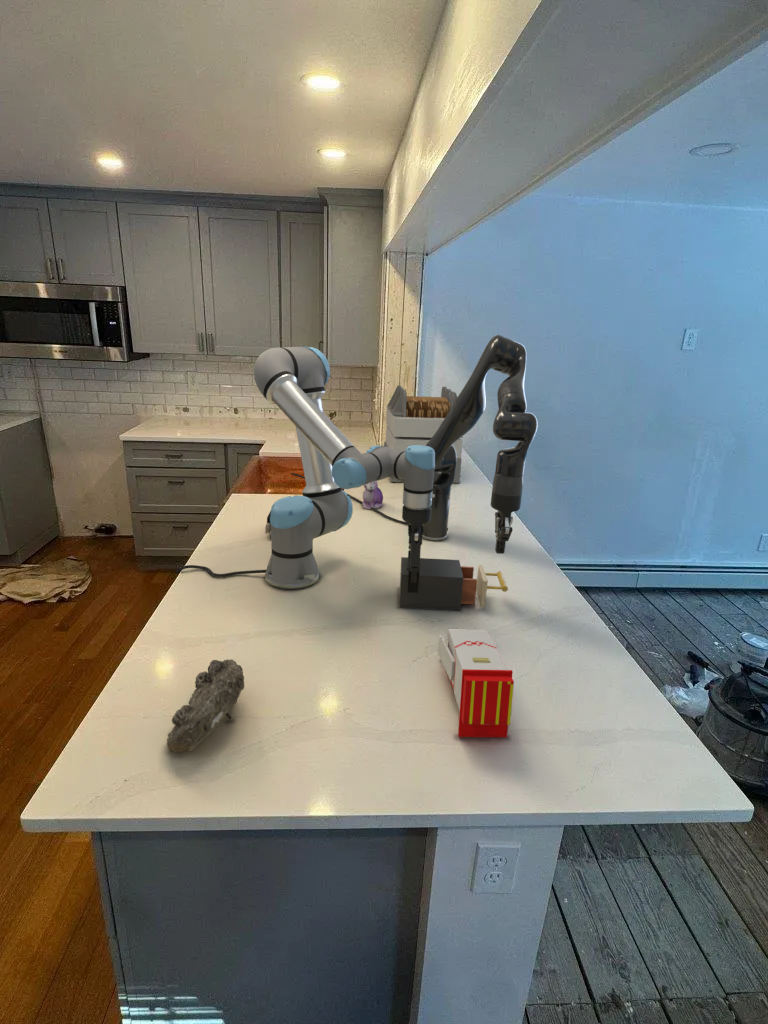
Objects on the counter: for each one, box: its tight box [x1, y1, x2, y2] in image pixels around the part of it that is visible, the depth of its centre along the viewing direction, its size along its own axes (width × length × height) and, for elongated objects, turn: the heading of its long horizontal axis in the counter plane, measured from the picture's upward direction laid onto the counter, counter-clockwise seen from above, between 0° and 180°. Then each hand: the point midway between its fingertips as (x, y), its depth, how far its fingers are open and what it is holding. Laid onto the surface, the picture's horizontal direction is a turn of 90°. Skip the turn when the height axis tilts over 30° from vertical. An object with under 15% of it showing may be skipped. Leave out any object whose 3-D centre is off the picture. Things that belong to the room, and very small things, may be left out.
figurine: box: [361, 481, 384, 510], centre depth 224 cm, size 9×10×15 cm
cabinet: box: [398, 556, 463, 612], centre depth 154 cm, size 16×11×10 cm
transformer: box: [383, 384, 464, 484], centre depth 268 cm, size 34×33×41 cm
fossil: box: [166, 658, 245, 754], centre depth 106 cm, size 22×10×15 cm
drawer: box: [461, 564, 509, 608], centre depth 154 cm, size 20×10×8 cm, turn 88°
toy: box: [437, 628, 515, 738], centre depth 117 cm, size 12×13×30 cm
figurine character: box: [265, 510, 271, 538], centre depth 195 cm, size 7×8×15 cm
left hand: (412, 581), depth 154 cm, fingers closed on cabinet, 11 cm apart
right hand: (499, 552), depth 150 cm, fingers closed
